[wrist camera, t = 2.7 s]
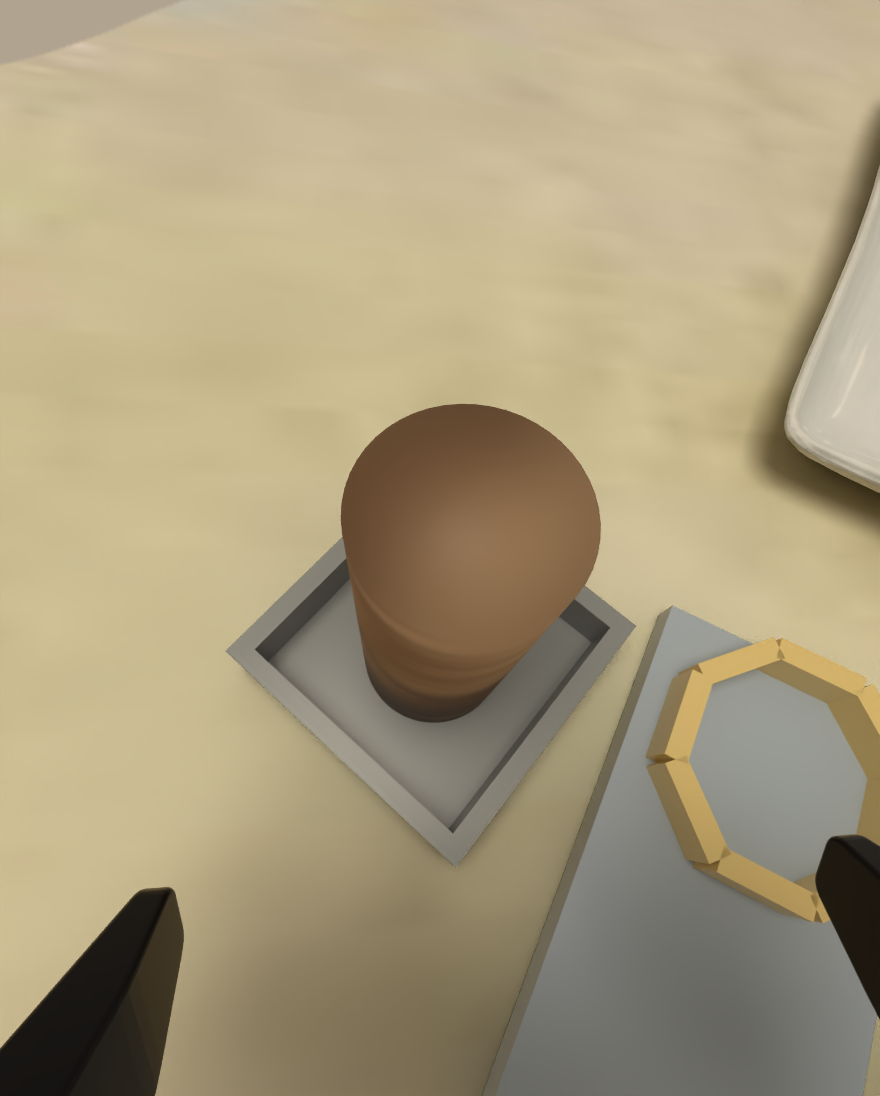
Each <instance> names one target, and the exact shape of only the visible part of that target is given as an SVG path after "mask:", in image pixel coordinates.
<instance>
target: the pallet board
mask: <svg viewBox="0 0 880 1096" xmlns="http://www.w3.org/2000/svg"><path fill="white" fill-rule="evenodd" d="M865 683H866V677H864V676H861V675H859V674H857V673H855V672H853V671H851V670H849V669H847V668H845V667H842V666H840V665H838V664H836V663H834V662H832V661H830V660H828V659H826V658H823V657H821V656H819V655H817V654H815V653H813V652H811V651H809V650H807V649H804V648H802V647H800V646H798V645H796V644H794V643H792V642H790V641H788V640H785V639H783V638H781V639H778V640H775V638H774V637H773V638H770V639H767V640H765V641H762V642H759V643H756V644H752V643H750V642H748V641H746V640H744V639H742V638H739V637H737V636H735V635H733V634H731V633H729V632H727V631H725V630H723V629H721V628H719V627H716V626H714V625H712V624H710V623H708V622H706V621H704V620H702V619H700V618H698V617H696V616H693V615H691V614H689V613H687V612H685V611H683V610H681V609H679V608H677V607H675V606H673V605H672V606H671V607H670V608H668V609H667V610H665V611H664V612H662V613H661V614H660V615H659V616H658V619H657V621H656V624H655V627H654V629H653V632H652V635H651V638H650V640H649V643H648V646H647V648H646V651H645V654H644V657H643V659H642V662H641V665H640V667H639V670H638V673H637V676H636V678H635V681H634V684H633V687H632V689H631V692H630V695H629V697H628V700H627V703H626V706H625V708H624V711H623V714H622V716H621V719H620V722H619V725H618V727H617V730H616V733H615V735H614V738H613V741H612V744H611V746H610V749H609V752H608V754H607V757H606V760H605V763H604V765H603V768H602V771H601V773H600V776H599V779H598V782H597V784H596V787H595V790H594V792H593V795H592V798H591V801H590V803H589V806H588V809H587V811H586V814H585V817H584V820H583V822H582V825H581V828H580V831H579V833H578V836H577V839H576V841H575V844H574V847H573V850H572V852H571V855H570V858H569V860H568V863H567V866H566V869H565V871H564V874H563V877H562V879H561V882H560V885H559V888H558V890H557V893H556V896H555V898H554V901H553V904H552V907H551V909H550V912H549V915H548V917H547V920H546V923H545V926H544V928H543V931H542V934H541V936H540V939H539V942H538V945H537V947H536V950H535V953H534V955H533V958H532V961H531V964H530V966H529V969H528V972H527V974H526V977H525V980H524V983H523V985H522V988H521V991H520V994H519V996H518V999H517V1002H516V1004H515V1007H514V1010H513V1013H512V1015H511V1018H510V1021H509V1023H508V1026H507V1029H506V1032H505V1034H504V1037H503V1040H502V1042H501V1045H500V1048H499V1051H498V1053H497V1056H496V1059H495V1061H494V1064H493V1067H492V1070H491V1072H490V1075H489V1078H488V1080H487V1083H486V1086H485V1089H484V1091H483V1094H482V1096H863V1093H864V1087H865V1081H866V1075H867V1069H868V1063H869V1058H870V1052H871V1046H872V1040H873V1034H874V1029H875V1023H876V1017H877V1014H876V1012H875V1010H874V1008H873V1006H872V1004H871V1002H870V1000H869V998H868V996H867V994H866V992H865V990H864V988H863V986H862V984H861V982H860V980H859V978H858V976H857V974H856V972H855V970H854V968H853V966H852V964H851V961H850V959H849V957H848V955H847V953H846V951H845V949H844V947H843V945H842V943H841V941H840V939H839V937H838V935H837V933H836V930H835V928H834V926H833V924H832V922H831V920H830V918H829V916H828V914H827V912H826V910H825V908H824V906H823V904H822V902H821V899H820V897H819V895H818V892H817V889H816V884H815V875H816V872H817V869H818V866H819V863H820V860H821V857H822V854H823V851H824V848H825V845H826V843H827V841H828V839H829V838H831V837H832V836H837V835H850V834H857V835H861V836H864V837H866V838H868V839H869V840H871V841H873V842H874V843H876V844H877V845H879V846H880V695H879V693H878V691H877V690H876V688H875V686H874V684H873V685H869V686H865Z"/></svg>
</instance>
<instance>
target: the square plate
mask: <svg viewBox="0 0 880 1096" xmlns="http://www.w3.org/2000/svg"><path fill="white" fill-rule="evenodd" d="M784 428H785V433H786V436H787V438H788V439H789V441H790V442H791V443H792V444H793V445H794V446H795V447H796V448H797V449H798V451H800V452H801V453H802V454H804V455H805V456H807V457H808V458H810V459H812V460H814V461H816V462H818V463H820V464H821V465H823V466H825V467H827V468H829V469H831V470H833V471H835V472H837V473H839V474H841V475H843V476H844V477H847V478H849V479H851V480H853V481H855V482H857V483H859V484H861V485H863V486H865V487H868V488H870V489H872V490H874V491H876V492H878V493H880V166H879V169H878V173H877V176H876V180H875V184H874V187H873V191H872V194H871V197H870V200H869V203H868V206H867V209H866V212H865V215H864V217H863V220H862V223H861V226H860V228H859V231H858V234H857V237H856V240H855V243H854V245H853V247H852V250H851V252H850V255H849V257H848V259H847V262H846V264H845V267H844V269H843V271H842V274H841V276H840V279H839V281H838V283H837V286H836V288H835V291H834V293H833V295H832V298H831V300H830V302H829V305H828V307H827V309H826V312H825V314H824V316H823V319H822V321H821V323H820V325H819V328H818V330H817V332H816V334H815V337H814V339H813V341H812V344H811V346H810V348H809V351H808V353H807V355H806V358H805V360H804V363H803V365H802V368H801V370H800V373H799V375H798V378H797V380H796V383H795V385H794V388H793V390H792V393H791V396H790V399H789V402H788V407H787V411H786V416H785V421H784Z"/></svg>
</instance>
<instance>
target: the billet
mask: <svg viewBox="0 0 880 1096" xmlns="http://www.w3.org/2000/svg"><path fill="white" fill-rule="evenodd" d="M341 526H342V536H343V541H344V547H345V553H346V558H347V564H348V569H349V575H350V581H351V586H352V592H353V597H354V603H355V609H356V614H357V620H358V625H359V631H360V637H361V642H362V648H363V653H364V659H365V665H366V669H367V673H368V676H369V679H370V681H371V684H372V686H373V687H374V689H375V691H376V692H377V694H378V695H379V696H380V698H381V699H382V700H383V701H384V702H385V703H386V704H387V705H388V706H389V707H390V708H392V709H393V710H394V711H396V712H398V713H399V714H401V715H403V716H405V717H407V718H410V719H413V720H416V721H420V722H428V723H440V722H447V721H451V720H454V719H457V718H460V717H462V716H464V715H466V714H468V713H469V712H471V711H473V710H474V709H475V708H476V707H478V706H479V705H480V704H481V703H482V702H483V701H484V700H485V699H486V697H487V696H488V695H489V694H490V693H491V692H492V691H493V690H494V689H495V687H496V686H497V685H498V684H499V683H500V682H501V681H502V680H503V678H504V677H505V676H506V675H507V674H508V673H509V672H510V671H511V669H512V668H513V667H514V666H515V665H516V664H517V663H518V662H519V661H520V659H521V658H522V657H523V656H524V655H525V654H526V653H527V652H528V650H529V649H530V648H531V647H532V646H533V645H534V644H535V643H536V642H537V640H538V639H539V638H540V637H541V636H542V635H543V634H544V633H545V631H546V630H547V629H548V628H549V627H550V626H551V625H552V624H553V623H554V621H555V620H556V619H557V618H558V617H559V616H560V615H561V614H562V612H563V611H564V610H565V609H566V608H567V607H568V606H569V605H570V603H571V602H572V601H573V600H574V599H575V598H576V597H577V595H578V594H579V593H580V591H581V590H582V588H583V587H584V585H585V584H586V582H587V580H588V578H589V576H590V574H591V572H592V570H593V567H594V564H595V561H596V558H597V555H598V550H599V544H600V531H601V522H600V514H599V507H598V503H597V499H596V496H595V492H594V490H593V488H592V485H591V483H590V480H589V478H588V476H587V475H586V473H585V471H584V469H583V468H582V466H581V464H580V463H579V462H578V460H577V459H576V458H575V456H574V455H573V454H572V453H571V452H570V451H569V449H568V448H567V447H566V446H565V445H564V444H563V443H562V442H561V441H560V440H558V439H557V438H556V437H555V436H554V435H552V434H551V433H550V432H549V431H547V430H546V429H544V428H543V427H541V426H539V425H538V424H536V423H535V422H533V421H531V420H529V419H527V418H525V417H523V416H520V415H518V414H515V413H512V412H510V411H507V410H503V409H499V408H495V407H491V406H484V405H477V404H454V405H443V406H438V407H433V408H429V409H426V410H422V411H419V412H416V413H414V414H411V415H409V416H407V417H405V418H403V419H401V420H399V421H397V422H396V423H394V424H392V425H391V426H389V427H388V428H386V429H385V430H384V431H383V432H381V433H380V434H379V435H378V436H377V437H375V439H374V440H373V441H372V442H371V443H370V444H369V445H368V446H367V447H366V448H365V449H364V451H363V452H362V454H361V455H360V456H359V458H358V459H357V461H356V463H355V465H354V466H353V468H352V470H351V472H350V474H349V477H348V480H347V483H346V486H345V488H344V494H343V499H342V505H341Z"/></svg>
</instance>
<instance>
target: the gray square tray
mask: <svg viewBox="0 0 880 1096" xmlns="http://www.w3.org/2000/svg"><path fill="white" fill-rule="evenodd" d="M635 627H636V625H634V624H633V623H632V622H630V621H629V620H628V619H627V618H625V617H624V616H623V615H622V614H620V613H619V612H618V611H616V610H615V609H614V608H613V607H611V606H610V605H609V604H608V603H606V602H605V601H604V600H602V599H601V598H600V597H599V596H597V595H596V594H595V593H594V592H592V591H591V590H590V589H588V588H587V587H586V586H585V585H584V587H583V588H582V590H581V591H580V593H579V594H578V595H577V597H576V598H575V599H574V600H573V601H572V602H571V603H570V605H569V606H568V607H567V608H566V609H565V610H564V611H563V612H562V614H561V615H560V616H559V617H558V618H557V619H556V620H555V621H554V623H553V624H552V625H551V626H550V627H549V628H548V629H547V630H546V631H545V633H544V634H543V635H542V636H541V637H540V638H539V639H538V640H537V642H536V643H535V644H534V645H533V646H532V647H531V648H530V649H529V650H528V652H527V653H526V654H525V655H524V656H523V657H522V658H521V659H520V661H519V662H518V663H517V664H516V665H515V666H514V667H513V668H512V669H511V671H510V672H509V673H508V674H507V675H506V676H505V677H504V678H503V680H502V681H501V682H500V683H499V684H498V685H497V686H496V687H495V689H494V690H493V691H492V692H491V693H490V694H489V695H488V696H487V697H486V699H485V700H484V701H483V702H482V703H481V704H480V705H479V706H478V707H476V708H475V709H474V710H473V711H471V712H469V713H468V714H466V715H464V716H462V717H460V718H457V719H454V720H451V721H447V722H440V723H428V722H420V721H416V720H413V719H410V718H407V717H405V716H403V715H401V714H399V713H398V712H396V711H394V710H393V709H392V708H390V707H389V706H388V705H387V704H386V703H385V702H384V701H383V700H382V699H381V698H380V696H379V695H378V694H377V692H376V691H375V689H374V687H373V686H372V684H371V681H370V679H369V676H368V673H367V669H366V665H365V659H364V653H363V648H362V642H361V637H360V631H359V625H358V620H357V614H356V609H355V603H354V597H353V592H352V586H351V581H350V575H349V569H348V564H347V558H346V553H345V547H344V541H343V537H342V538H341V539H340V540H339V541H338V542H337V543H336V544H335V545H334V546H333V547H332V548H331V549H330V550H329V551H328V552H326V553H325V554H324V555H323V556H322V557H321V558H320V559H319V560H318V561H317V562H316V563H315V564H314V565H313V566H312V567H311V568H310V569H309V570H308V571H307V572H306V573H305V574H304V575H303V576H302V577H301V578H300V579H299V580H298V581H297V582H296V583H295V584H294V585H293V586H292V587H291V588H290V589H289V590H288V591H287V592H286V593H285V594H283V595H282V596H281V597H280V598H279V599H278V600H277V601H276V602H275V603H274V604H273V605H272V606H271V607H270V608H269V609H268V610H267V611H266V612H265V613H264V614H263V615H262V616H261V617H260V618H259V619H258V620H257V621H256V622H255V623H254V624H253V625H252V626H251V627H250V628H249V629H248V630H247V631H246V632H245V633H244V634H243V635H242V636H240V637H239V638H238V639H237V640H236V641H235V642H234V643H233V644H232V645H231V646H230V647H229V648H228V649H227V650H226V652H227V653H228V654H229V655H230V656H231V657H232V658H233V659H234V660H235V661H236V662H237V663H239V664H240V665H241V666H242V667H243V668H244V669H245V670H246V671H247V672H248V673H249V674H250V675H251V676H252V677H253V678H254V679H256V680H257V681H258V682H259V683H260V684H261V685H262V686H263V687H264V688H265V689H266V690H267V691H268V692H269V693H270V694H271V695H273V696H274V697H275V698H276V699H277V700H278V701H279V702H280V703H281V704H282V705H283V706H284V707H285V708H286V709H287V710H288V711H290V712H291V713H292V714H293V715H294V716H295V717H296V718H297V719H298V720H299V721H300V722H301V723H302V724H303V725H304V726H305V727H307V728H308V729H309V730H310V731H311V732H312V733H313V734H314V735H315V736H316V737H317V738H318V739H319V740H320V741H321V742H322V743H324V744H325V745H326V746H327V747H328V748H329V749H330V750H331V751H332V752H333V753H334V754H335V755H336V756H337V757H338V758H339V759H341V760H342V761H343V762H344V763H345V764H346V765H347V766H348V767H349V768H350V769H351V770H352V771H353V772H354V773H355V774H356V775H358V776H359V777H360V778H361V779H362V780H363V781H364V782H365V783H366V784H367V785H368V786H369V787H370V788H371V789H372V790H373V791H375V792H376V793H377V794H378V795H379V796H380V797H381V798H382V799H383V800H384V801H385V802H386V803H387V804H388V805H389V806H390V807H392V808H393V809H394V810H395V811H396V812H397V813H398V814H399V815H400V816H401V817H402V818H403V819H404V820H405V821H406V822H407V823H409V824H410V825H411V826H412V827H413V828H414V829H415V830H416V831H417V832H418V833H419V834H420V835H421V836H422V837H423V838H424V839H426V840H427V841H428V842H429V843H430V844H431V845H432V846H433V847H434V848H435V849H436V850H437V851H438V852H439V853H440V854H441V855H443V856H444V857H445V858H446V859H447V860H448V861H449V862H450V863H451V864H452V865H453V866H454V867H455V868H456V867H457V866H458V864H459V863H460V862H461V860H462V859H463V858H464V856H465V855H466V854H467V852H468V851H469V850H470V848H471V847H472V846H473V844H474V843H475V841H476V840H477V839H478V837H479V836H480V835H481V833H482V832H483V831H484V829H485V828H486V827H487V825H488V824H489V823H490V821H491V820H492V819H493V817H494V816H495V815H496V813H497V812H498V811H499V809H500V808H501V807H502V805H503V804H504V803H505V801H506V800H507V799H508V797H509V796H510V795H511V793H512V792H513V791H514V789H515V788H516V786H517V785H518V784H519V782H520V781H521V780H522V778H523V777H524V776H525V774H526V773H527V772H528V770H529V769H530V768H531V766H532V765H533V764H534V762H535V761H536V760H537V758H538V757H539V756H540V754H541V753H542V752H543V750H544V749H545V748H546V746H547V745H548V744H549V742H550V741H551V740H552V738H553V737H554V736H555V734H556V733H557V731H558V730H559V729H560V727H561V726H562V725H563V723H564V722H565V721H566V719H567V718H568V717H569V715H570V714H571V713H572V711H573V710H574V709H575V707H576V706H577V705H578V703H579V702H580V701H581V699H582V698H583V697H584V695H585V694H586V693H587V691H588V690H589V689H590V687H591V686H592V685H593V683H594V682H595V681H596V679H597V678H598V676H599V675H600V674H601V672H602V671H603V670H604V668H605V667H606V666H607V664H608V663H609V662H610V660H611V659H612V658H613V656H614V655H615V654H616V652H617V651H618V650H619V648H620V647H621V646H622V644H623V643H624V642H625V640H626V639H627V638H628V636H629V635H630V634H631V632H632V631H633V630H634V628H635Z"/></svg>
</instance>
